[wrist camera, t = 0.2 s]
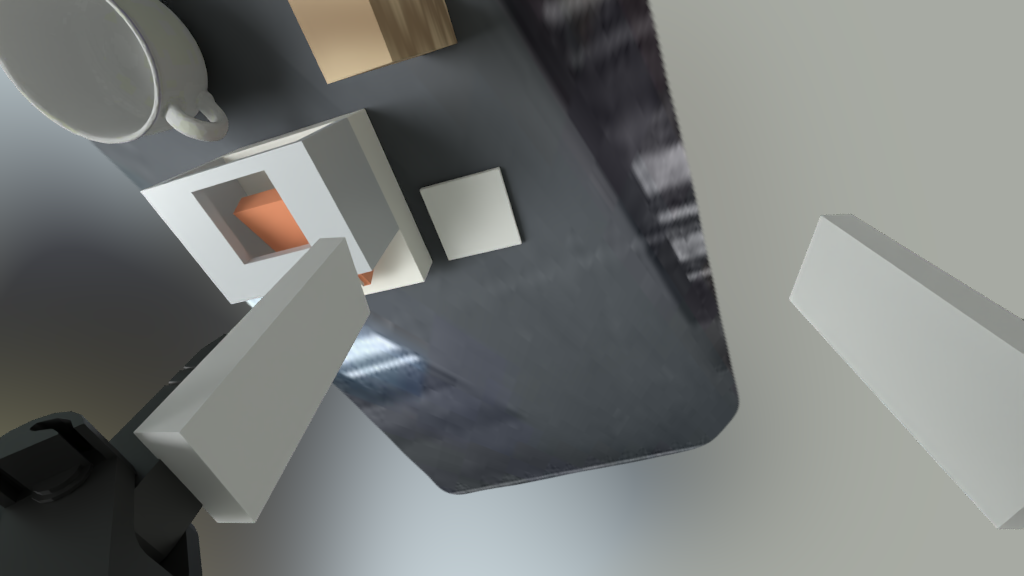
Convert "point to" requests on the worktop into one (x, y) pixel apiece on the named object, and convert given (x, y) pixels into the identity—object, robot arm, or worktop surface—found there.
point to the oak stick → (371, 32)
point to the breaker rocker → (276, 223)
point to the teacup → (109, 68)
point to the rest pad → (472, 214)
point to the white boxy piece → (297, 208)
